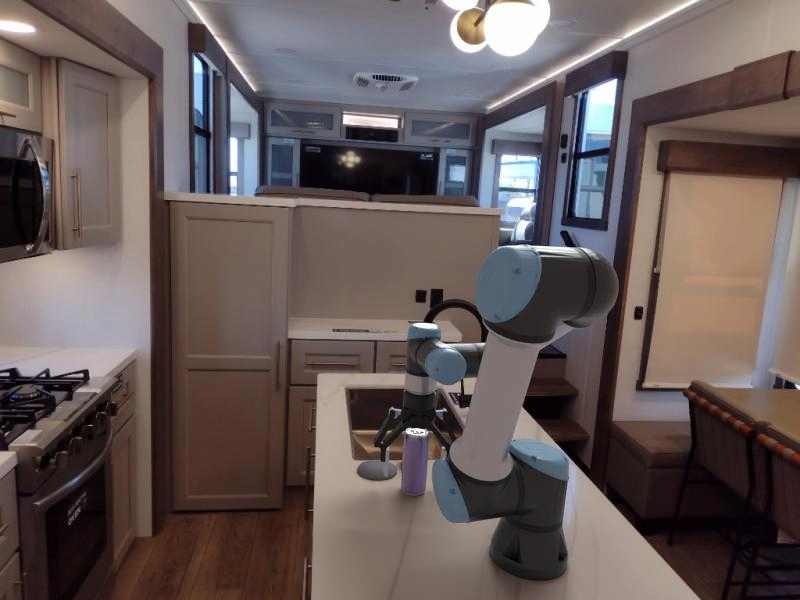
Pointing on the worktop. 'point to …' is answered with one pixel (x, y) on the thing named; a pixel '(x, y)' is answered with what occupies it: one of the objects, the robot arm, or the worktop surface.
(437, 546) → the worktop surface
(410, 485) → the beverage can
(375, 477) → the coaster
